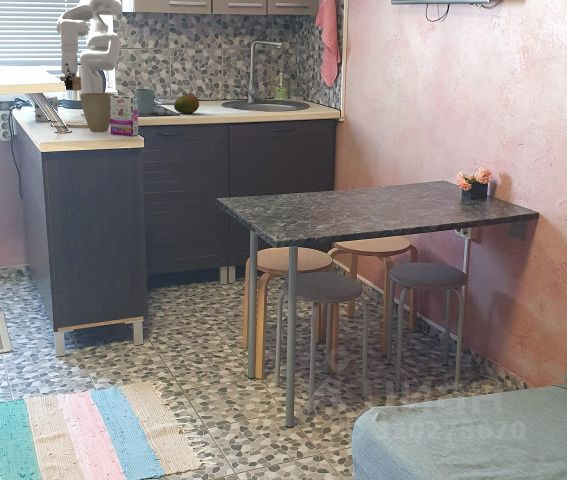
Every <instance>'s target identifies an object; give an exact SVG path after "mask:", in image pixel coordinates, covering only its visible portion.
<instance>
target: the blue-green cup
mask: <svg viewBox="0 0 567 480" xmlns="http://www.w3.org/2000/svg"><path fill="white" fill-rule="evenodd" d="M155 90H156V89H153V88H135V89H134V92H135V93H134V94H135V95H134V97H138V114H139V115H140V114H143V115H146V114H147V115H149V114H153V113H154V107H155V106H154V102H155Z"/></svg>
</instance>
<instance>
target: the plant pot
mask: <svg viewBox="0 0 567 480" xmlns="http://www.w3.org/2000/svg"><path fill="white" fill-rule="evenodd" d="M113 95H116V94H115V93H111V92H103V93H83V92H82V93H80V94H79V99H80V104H81V107H82V112H84V115H85V116H84V115H83V116H84V117H85V118H84V119H85V121H87V124H88V126H89V128H88V129H89V130H90V132H93V133H106V132H108V131H109V130H110V96H113Z"/></svg>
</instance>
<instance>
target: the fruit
mask: <svg viewBox="0 0 567 480" xmlns="http://www.w3.org/2000/svg"><path fill="white" fill-rule="evenodd" d="M173 107H174V110H175V111H176V112H177V113H179V114H185V115H186V114H192V113H193V114H194V113H195V112H197V110H198V109H199V107H200V101H199V99H198V97H197V96H195V95H194V94H191V93H190V94H183V95H181V96H179V97H178V98H177V99H176V100H175V102H174V103H173Z"/></svg>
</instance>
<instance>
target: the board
mask: <svg viewBox="0 0 567 480" xmlns="http://www.w3.org/2000/svg"><path fill="white" fill-rule="evenodd" d="M62 120H63V119H62ZM63 121H64V123H65V124H66V126H68V127H67V128H83V129H89V126H88V124H87V121H86V120H68V119H67V120H65V119H64V120H63ZM52 123H53V122H51V123H50V127H54V126H53V125H52Z"/></svg>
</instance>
